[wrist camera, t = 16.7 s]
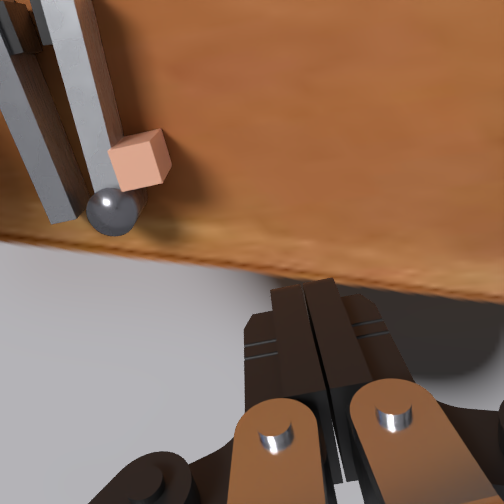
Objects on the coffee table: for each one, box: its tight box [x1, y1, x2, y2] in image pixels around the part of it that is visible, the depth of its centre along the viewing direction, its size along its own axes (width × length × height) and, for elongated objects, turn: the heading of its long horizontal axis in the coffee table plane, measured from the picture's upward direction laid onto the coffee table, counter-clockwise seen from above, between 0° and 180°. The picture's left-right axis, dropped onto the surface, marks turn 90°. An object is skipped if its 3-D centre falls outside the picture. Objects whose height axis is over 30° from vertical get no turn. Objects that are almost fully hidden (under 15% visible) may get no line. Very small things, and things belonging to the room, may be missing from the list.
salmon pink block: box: [107, 128, 172, 192], centre depth 33 cm, size 3×3×5 cm
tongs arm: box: [30, 0, 148, 236], centre depth 32 cm, size 17×4×5 cm, turn 7°
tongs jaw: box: [0, 0, 91, 224], centre depth 32 cm, size 15×3×4 cm, turn 12°
